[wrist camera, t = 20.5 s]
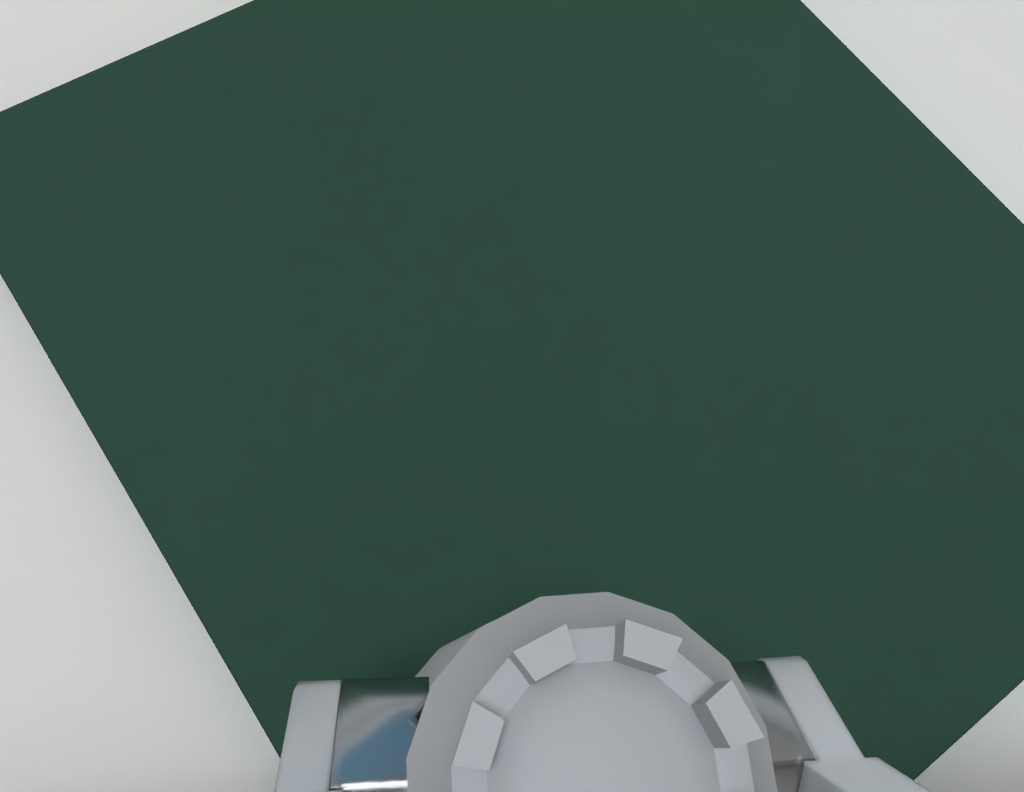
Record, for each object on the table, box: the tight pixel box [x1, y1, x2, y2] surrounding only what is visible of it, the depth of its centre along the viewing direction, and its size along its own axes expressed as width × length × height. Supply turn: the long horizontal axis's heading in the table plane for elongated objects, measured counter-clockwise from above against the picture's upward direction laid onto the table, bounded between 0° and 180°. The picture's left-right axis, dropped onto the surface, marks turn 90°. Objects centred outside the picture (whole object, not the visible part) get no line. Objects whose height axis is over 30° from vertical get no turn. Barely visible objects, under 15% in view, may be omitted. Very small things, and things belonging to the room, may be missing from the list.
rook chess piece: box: [406, 592, 778, 792], centre depth 11 cm, size 4×4×8 cm
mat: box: [0, 0, 1024, 780], centre depth 18 cm, size 20×18×1 cm
